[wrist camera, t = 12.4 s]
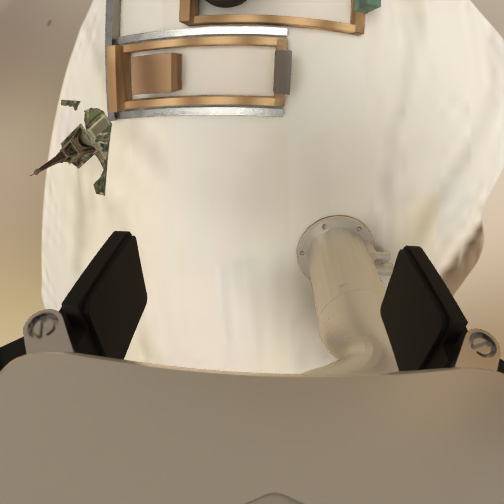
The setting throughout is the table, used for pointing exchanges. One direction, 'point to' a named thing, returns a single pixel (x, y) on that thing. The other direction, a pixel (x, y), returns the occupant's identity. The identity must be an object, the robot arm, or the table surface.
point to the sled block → (123, 98)
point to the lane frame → (114, 36)
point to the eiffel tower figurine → (86, 143)
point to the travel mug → (225, 2)
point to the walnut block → (156, 73)
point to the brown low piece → (280, 18)
